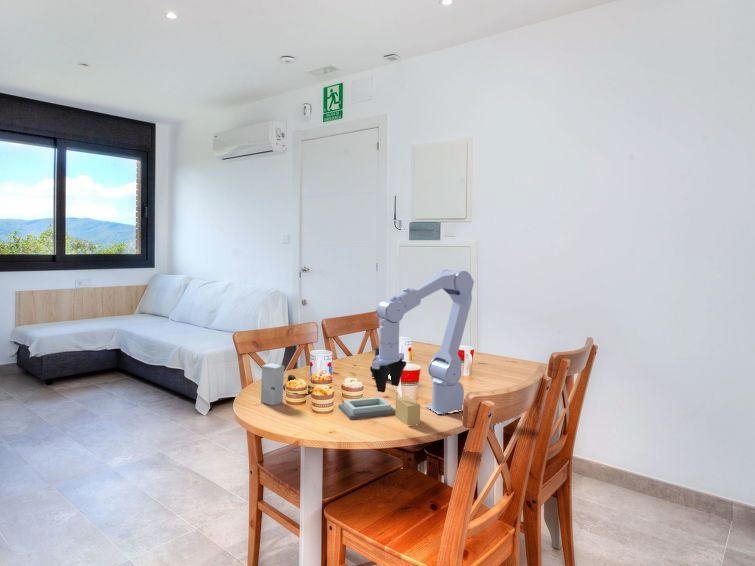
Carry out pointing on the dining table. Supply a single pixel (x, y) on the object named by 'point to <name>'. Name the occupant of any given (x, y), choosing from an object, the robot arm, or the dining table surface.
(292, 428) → the dining table surface
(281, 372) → the skincare box
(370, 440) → the dining table surface
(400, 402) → the ochre block
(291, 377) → the seal
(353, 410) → the board
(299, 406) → the dining table surface
